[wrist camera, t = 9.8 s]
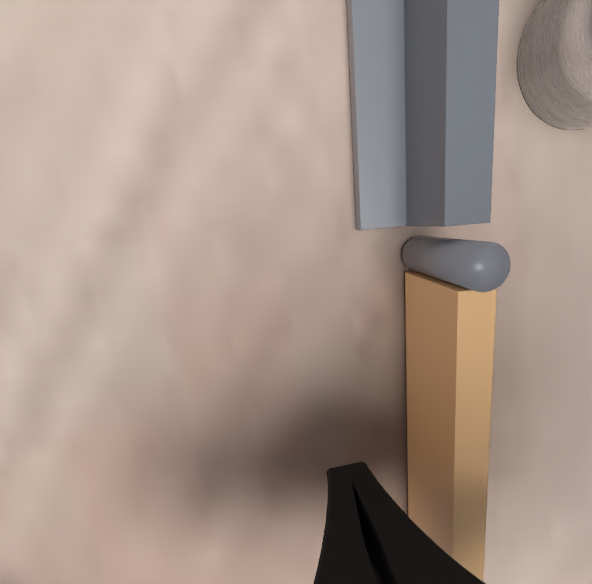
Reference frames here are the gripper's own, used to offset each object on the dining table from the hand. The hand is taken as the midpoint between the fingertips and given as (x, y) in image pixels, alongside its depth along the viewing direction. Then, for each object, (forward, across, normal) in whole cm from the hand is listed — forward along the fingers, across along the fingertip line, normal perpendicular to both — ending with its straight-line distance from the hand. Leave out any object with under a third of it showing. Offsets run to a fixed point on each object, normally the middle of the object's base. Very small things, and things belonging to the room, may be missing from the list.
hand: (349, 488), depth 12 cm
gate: (+1, -3, -2) cm, 4 cm away
